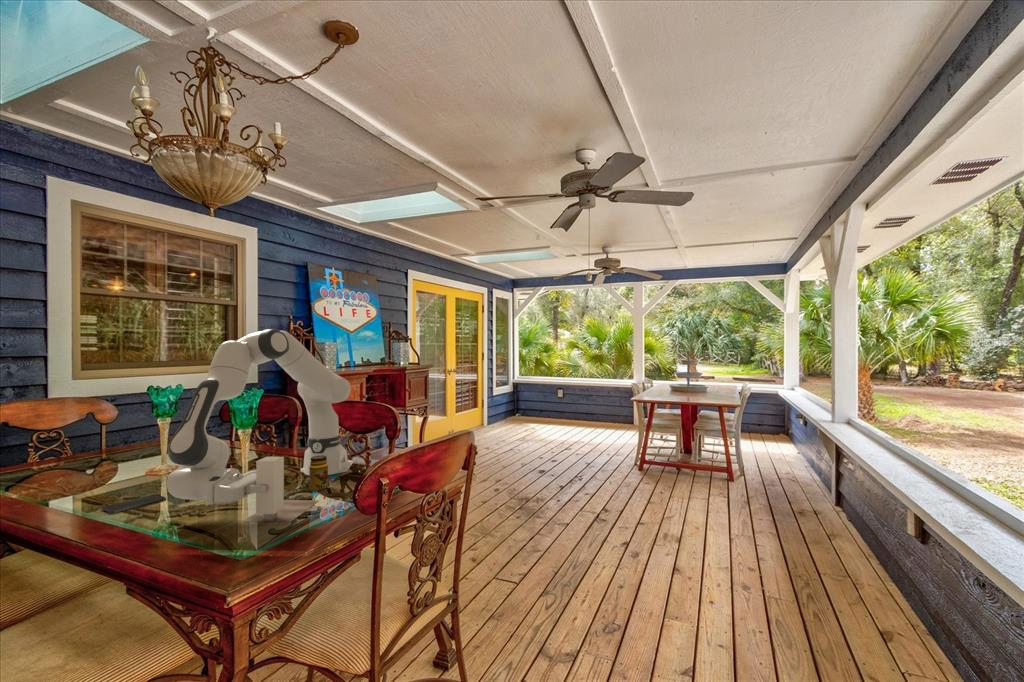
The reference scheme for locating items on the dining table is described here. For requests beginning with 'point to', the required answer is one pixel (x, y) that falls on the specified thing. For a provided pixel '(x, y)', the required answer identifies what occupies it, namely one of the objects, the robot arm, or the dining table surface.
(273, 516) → the post
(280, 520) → the board
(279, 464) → the tall gray pillar
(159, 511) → the dining table surface
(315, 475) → the condiment
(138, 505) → the phone
